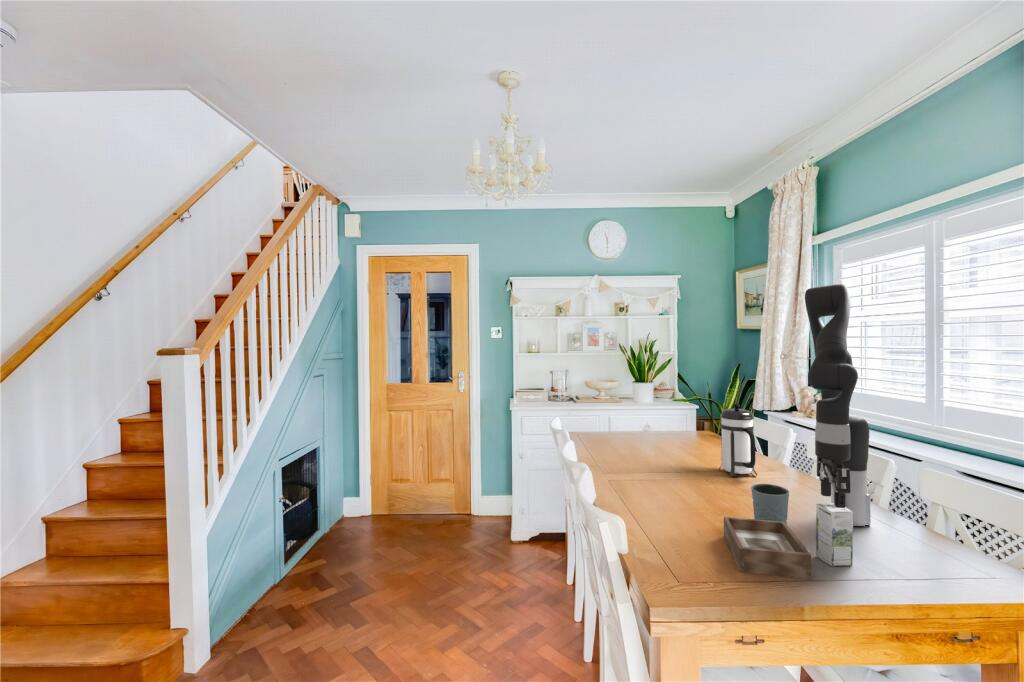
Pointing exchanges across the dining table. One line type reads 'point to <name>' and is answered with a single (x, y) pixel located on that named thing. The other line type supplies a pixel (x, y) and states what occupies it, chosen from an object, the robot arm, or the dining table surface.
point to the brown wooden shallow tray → (766, 548)
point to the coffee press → (737, 441)
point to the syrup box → (834, 535)
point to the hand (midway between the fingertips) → (832, 501)
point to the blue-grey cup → (770, 502)
